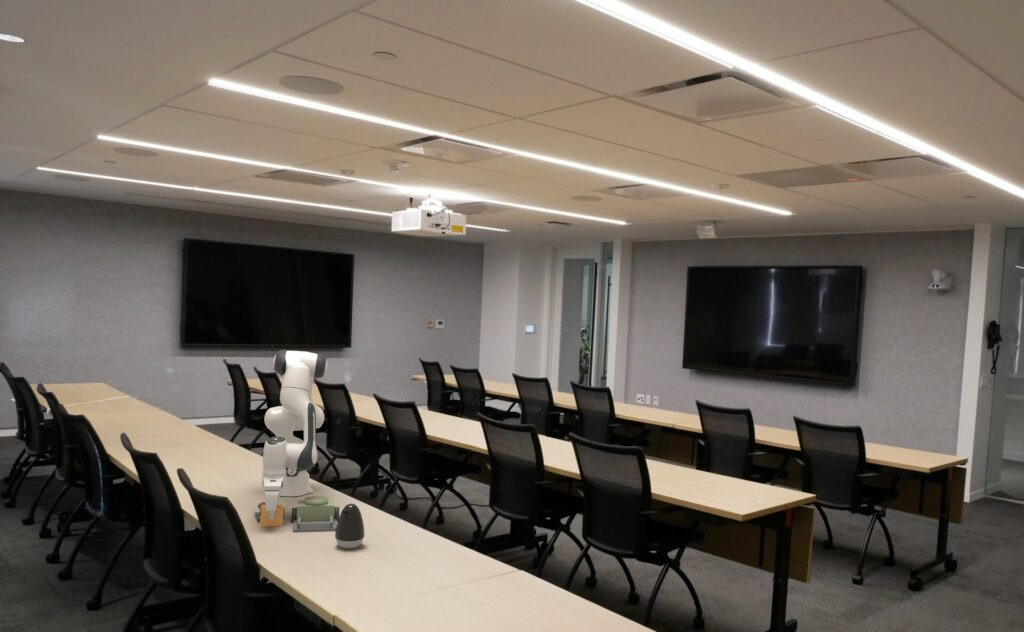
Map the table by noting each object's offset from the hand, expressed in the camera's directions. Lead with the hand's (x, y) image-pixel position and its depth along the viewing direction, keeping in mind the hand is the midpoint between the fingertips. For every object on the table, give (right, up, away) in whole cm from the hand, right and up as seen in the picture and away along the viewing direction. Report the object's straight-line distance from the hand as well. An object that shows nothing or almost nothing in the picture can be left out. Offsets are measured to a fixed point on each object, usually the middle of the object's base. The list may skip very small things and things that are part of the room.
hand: (272, 516), depth 276 cm
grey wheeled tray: (+16, -4, +3) cm, 16 cm away
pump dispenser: (+34, -5, -21) cm, 40 cm away
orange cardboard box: (0, -3, 0) cm, 3 cm away
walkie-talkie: (-7, -3, +12) cm, 14 cm away
